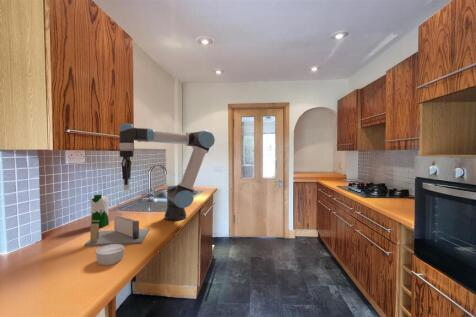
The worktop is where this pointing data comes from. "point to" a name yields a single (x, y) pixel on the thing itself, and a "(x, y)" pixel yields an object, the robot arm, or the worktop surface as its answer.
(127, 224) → the rod
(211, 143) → the robot arm
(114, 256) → the ramekin
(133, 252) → the worktop surface
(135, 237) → the hinge post
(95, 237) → the post
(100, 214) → the milk carton
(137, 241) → the board
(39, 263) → the worktop surface
